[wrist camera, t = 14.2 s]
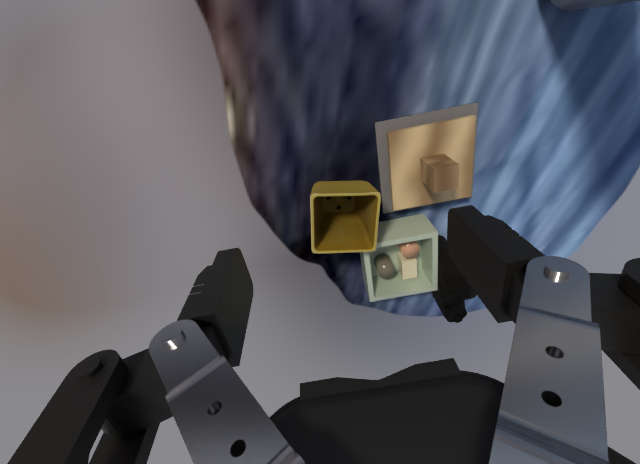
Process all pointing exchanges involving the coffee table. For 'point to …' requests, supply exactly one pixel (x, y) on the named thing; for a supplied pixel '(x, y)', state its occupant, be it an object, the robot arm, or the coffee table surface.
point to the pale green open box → (402, 259)
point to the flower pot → (344, 217)
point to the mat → (408, 122)
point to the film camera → (451, 286)
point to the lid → (431, 162)
